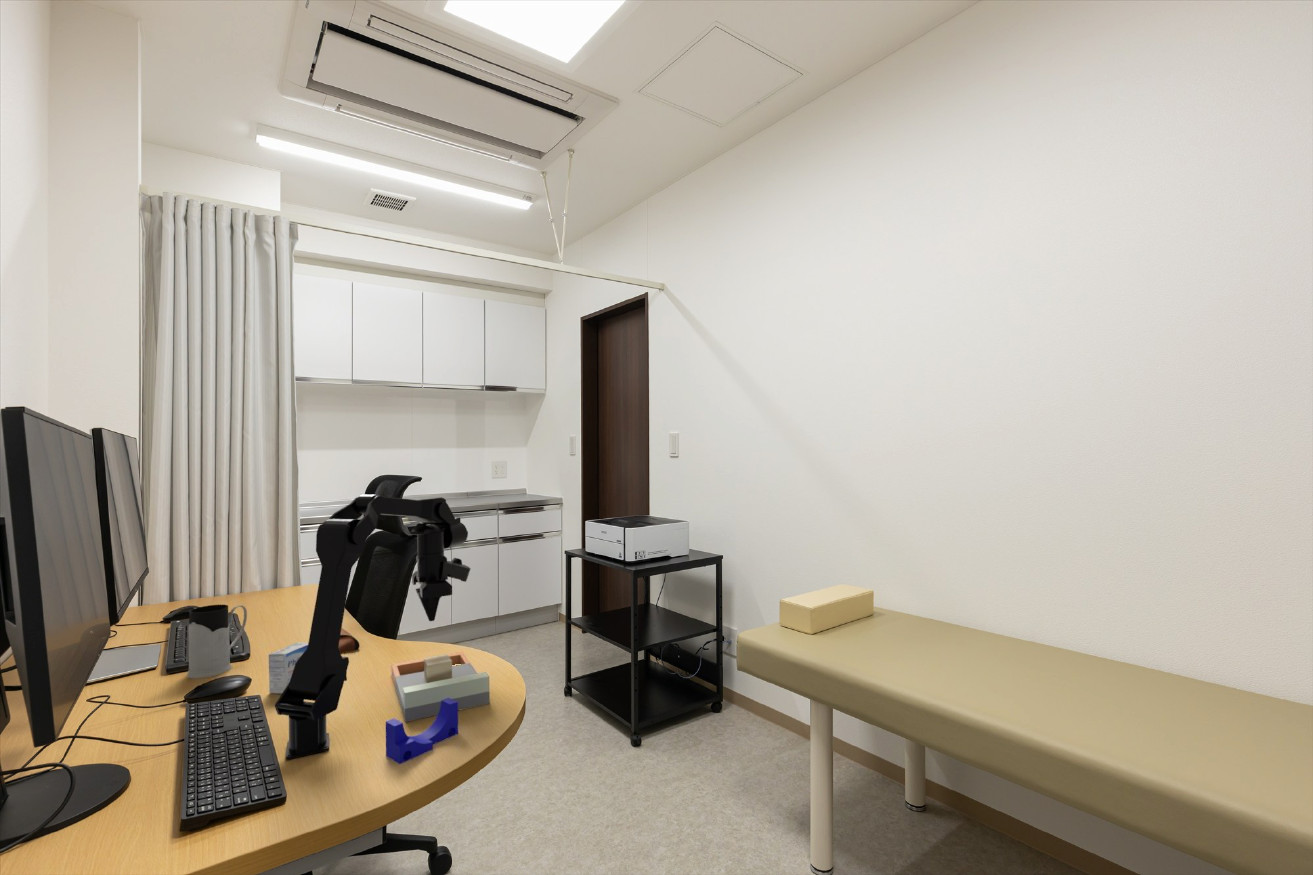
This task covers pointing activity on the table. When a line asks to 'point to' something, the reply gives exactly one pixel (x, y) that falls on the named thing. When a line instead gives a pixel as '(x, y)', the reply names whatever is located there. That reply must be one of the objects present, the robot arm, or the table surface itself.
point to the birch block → (437, 668)
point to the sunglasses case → (347, 642)
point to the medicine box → (283, 666)
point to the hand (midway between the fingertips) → (431, 620)
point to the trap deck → (436, 706)
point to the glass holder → (210, 640)
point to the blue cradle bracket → (413, 746)
